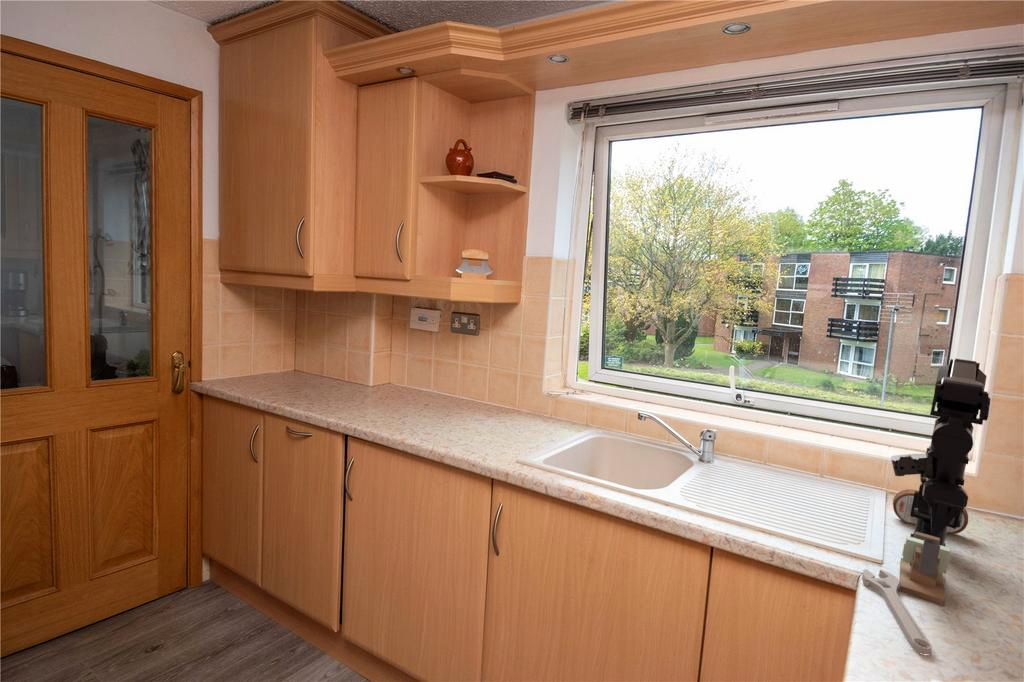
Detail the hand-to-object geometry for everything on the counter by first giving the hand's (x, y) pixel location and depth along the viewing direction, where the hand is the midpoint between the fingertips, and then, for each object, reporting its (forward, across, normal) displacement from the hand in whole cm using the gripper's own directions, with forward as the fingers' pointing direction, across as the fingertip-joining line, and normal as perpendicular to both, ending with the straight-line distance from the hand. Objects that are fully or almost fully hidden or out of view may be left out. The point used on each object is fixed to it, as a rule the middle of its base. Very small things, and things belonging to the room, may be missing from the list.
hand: (933, 526), depth 109 cm
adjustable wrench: (+14, +12, -5) cm, 19 cm away
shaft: (+8, -1, 0) cm, 8 cm away
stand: (+13, -3, 0) cm, 13 cm away
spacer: (+10, -4, 0) cm, 11 cm away
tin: (+12, -37, +2) cm, 39 cm away
